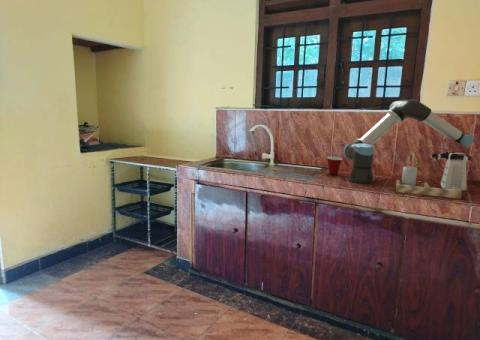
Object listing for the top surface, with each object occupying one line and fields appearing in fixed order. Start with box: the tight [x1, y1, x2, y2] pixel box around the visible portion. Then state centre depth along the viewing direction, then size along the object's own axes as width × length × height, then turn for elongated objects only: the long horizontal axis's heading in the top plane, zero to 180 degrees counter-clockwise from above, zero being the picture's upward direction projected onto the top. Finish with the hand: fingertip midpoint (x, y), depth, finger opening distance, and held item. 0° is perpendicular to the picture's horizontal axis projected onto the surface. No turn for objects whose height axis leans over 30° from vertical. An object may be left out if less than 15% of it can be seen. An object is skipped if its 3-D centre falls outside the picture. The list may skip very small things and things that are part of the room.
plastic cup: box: [326, 155, 343, 175], centre depth 216 cm, size 11×11×12 cm
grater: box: [440, 152, 467, 191], centre depth 174 cm, size 10×10×20 cm
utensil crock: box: [400, 153, 418, 186], centre depth 171 cm, size 7×7×20 cm
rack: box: [395, 179, 463, 200], centre depth 168 cm, size 30×14×4 cm, turn 63°
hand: (453, 158), depth 182 cm, fingers open, 13 cm apart
